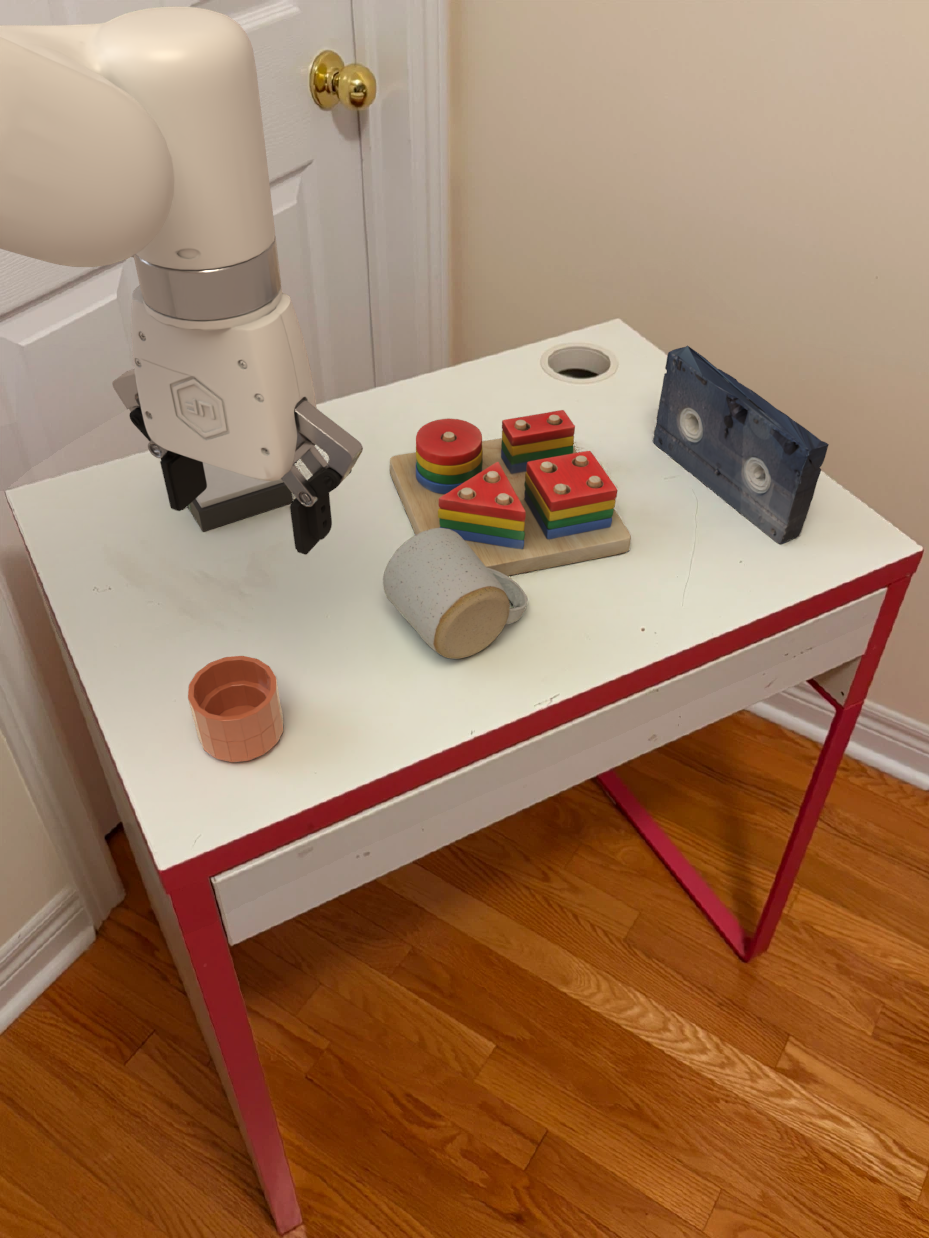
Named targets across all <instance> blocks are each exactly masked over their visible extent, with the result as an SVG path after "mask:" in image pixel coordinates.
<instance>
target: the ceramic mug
mask: <svg viewBox="0 0 929 1238" xmlns="http://www.w3.org/2000/svg"><path fill="white" fill-rule="evenodd" d="M382 588H383V592H384V594H385V597H386V598H387V599H388V601H389V602H390V603H391V604H392V605H393V606H394V607H395V609H396V610H397V611H398V612H399V613H400V614H401V615H402V617H403V618H404V619H405V620H406V621H407V622H408V624H409V625H410V626H411V627H412V628H413V629H414V630H415V631H416V633H417V634H418V635H419V636H420V638H421V639H422V640H423V641H424V642H425V644H427V646H428V647H429V648H431V649H432V650H433V651H434V652H436V653H437V654H438V655H440V656H442V657H444V658H447V659H453V660H455V659H464V658H467V657H471V656H473V655H476V654H478V653H480V652H481V651H483V650H485V649H486V648H487V647H489V646H490V645H491V644H492V643H493V642H494V641H495V640H496V639H497V638H498V636H499V635H500V634H501V633H502V632H503V629H504V628H505V626H506V625H510V624H514V623H516V622H518V621H519V620H520V619H521V618H522V616H523V615H524V613H525V611H526V608H527V606H528V597H527V595H526V592H525V591H524V590H523V588H522V587H521V586H520V585H519V583H517V582H516V581H515V580H514V579H512V578H511V577H509V576H506V575H505V574H503V573H501V572H499V571H496V570H494V569H491V568H487V567H486V566H485V565H484V564H483V563H482V561H481V560H480V559H479V558H478V556H477V555H476V554H475V553H474V551H473V550H472V549H471V548H470V547H469V545H468V544H467V543H466V542H465V541H464V539H463V538H462V537H461V536H460V535H459V534H458V533H456V532H454V531H452V530H450V529H445V528H433V529H429V530H425V531H423V532H421V533H419V534H417V535H413V536H411V537H410V538H409V539H407V540H406V541H405V542H403V543H402V544H400V546H399V547H398V548H396V550H395V552H394V553H393V554H392V556H390V559H389V560H388V562H387V563H386V566H385V568H384V572H383V576H382ZM510 603H511V604H510ZM511 605H512V606H513V607H511Z"/></svg>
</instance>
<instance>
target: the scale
mask: <svg viewBox="0 0 929 1238" xmlns="http://www.w3.org/2000/svg"><path fill="white" fill-rule="evenodd" d="M203 466H204V472H205V477H206V482H207V488H206V490H205V491H204V492H202V493H201V494H200V495H199V496H198V497H197V498H196V499H195V500H194V501H193V502H191V503H190V504H189V505H188V506H187V507H186V508H188V510H189V512H190V513H191V515H192V517H193V518H194V520H195V521H196V523H197V525H198V526H199V528H200V529H201V532H203V533H204V532H207V531H210V530H214V529H216V528H219V527H222V526H225V525H228V524H231V523H235V522H238V521H241V520H244V519H247V518H250V517H254V516H256V515H259V514H263V513H265V512H268V511H271V510H274V509H278V508H281V507H285V506H287V505H291V503H292V501H293V500H294V499H293V493H292V492H291V491H290V490H289V488H288V487H287V486H286V485H285V483H284V482H283V481H282V479H279V480H276V481H264V480H259V479H255V478H252V477H248V476H245V475H242V474H239V473H236V472H232V471H229V470H226V469H223V468H220V467H217V466H213V465H210V464H207V463H204V462H203Z"/></svg>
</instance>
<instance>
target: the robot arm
mask: <svg viewBox="0 0 929 1238" xmlns="http://www.w3.org/2000/svg"><path fill="white" fill-rule="evenodd" d="M257 71H258V70H257V66H256V59H255V54H254V47H253V45H252V42H251V40H250V37H249V36H248V34H247V31H245V29H244V28H243V27H242V26H241V24H240V23H239V22H237V21H236V20H234V19H233V18H231V17H230V16H229V15H227V14H224V13H221V12H218V11H216V10H211V9H208V8H203V7H196V6H195V7H194V6H179V5H177V6H173V5H172V6H158V7H155V6H154V7H149V8H148V7H147V8H143V9H137V10H133V11H130V12H126V13H123V14H121V15H118V16H116V17H114V18H112V19H110V20H108V21H105V22H98V23H97V22H96V23H85V24H84V23H82V24H80V23H79V24H45V25H44V24H0V250H3V251H7V252H10V253H14V254H17V255H21V256H24V257H27V258H31V259H35V260H38V261H43V262H45V263H49V264H54V265H59V266H64V267H72V268H97V267H104V266H111V265H114V264H116V263H119V262H122V261H126V260H128V259H130V258H133V259H134V265H135V269H136V273H137V274H136V275H137V279H138V283H139V285H138V286H136V288H134V290H133V291H132V294H131V306H130V338H131V339H130V340H131V352H132V361H133V362H132V363H133V369H130V370H127V371H125V372H124V373H123V374H121V375H120V376H118V377H117V378H116V379H114V380H113V381H112V387H113V390H114V391H115V392H116V394H117V396H118V398H119V399H120V401H121V403H122V404H123V405H124V408H126V410H129V411H130V412H129V420H130V421H131V423H132V424H133V425H134V426H135V427H136V428H137V430H139V432H140V433H141V434H142V435H143V436H144V437H145V439H146V440H147V441H148V444H147V449H148V451H149V453H150V454H151V455H152V456H153V457H154V458H156V459H160V461H159V462H160V467H161V472H162V475H163V476H162V477H163V480H164V485H165V490H166V494H167V498H168V502H169V503H168V504H169V506H170V510H174V511H177V512H181V511H184V510H186V508H188V507H187V506H188V505H189V504H190V503H191V502H193V501H194V500H195V499H196V498H197V497H198V496H199V495H200V494H201V493H202V492H204V491H205V490H206V488H207V482H206V477H205V472H204V466H203V462H204V463H207V464H210V465H213V466H217V467H220V468H223V469H226V470H229V471H232V472H236V473H239V474H242V475H245V476H248V477H252V478H255V479H259V480H264V481H276V480H279V479H282V481H283V482H284V483H285V485H286V486H287V487H288V488H289V490H290V491H291V492H292V496H294V497H295V498H294V499H293V501H292V503H290V504H289V510H290V511H289V512H290V519H291V525H292V526H291V527H292V534H293V542H294V548H295V550H296V552H297V553H299V554H300V555H301V554H302V555H305V556H307V555H308V554H309V553H310V552H311V550H312V549H314V547H315V546H317V544H318V543H319V542H320V541H322V540H324V539H325V538H326V537H327V536H328V535H329V533H330V531H331V529H332V525H333V524H332V523H333V520H332V519H333V517H332V512H331V511H332V510H331V499H330V493H331V492H332V491H334V490H336V489H337V488H338V487H339V485H340V484H342V483H343V481H344V480H345V479H346V478H347V477H348V476H350V474H351V473H352V471H353V468H354V467H355V465H356V463H357V462H358V460H359V458H360V456H361V455H362V453H363V449H364V447H363V445H362V443H361V442H360V440H358V439H357V438H356V437H354V436H353V435H352V434H350V433H349V432H348V431H347V430H345V429H344V428H343V427H341V426H340V425H339V424H337V423H336V422H335V421H334V420H332V419H331V418H330V417H329V416H327V415H326V414H324V412H322V411H320V410H319V409H318V408H317V407H318V406H317V401H316V392H315V388H314V387H315V386H314V381H313V376H312V375H313V374H312V370H311V366H310V361H309V357H308V351H307V348H306V344H305V339H304V335H303V332H302V328H301V326H300V322H299V318H298V316H297V313H296V309H295V307H294V304H293V301H292V298H291V296H290V295H288V294H286V293H284V292H283V289H282V279H281V271H280V261H279V254H278V244H277V236H276V230H275V229H276V228H275V219H274V211H273V202H272V195H271V194H272V192H271V184H270V175H269V167H268V159H267V150H266V142H265V132H264V124H263V123H264V122H263V118H262V117H263V116H262V115H263V114H262V108H261V99H260V89H259V81H258V80H259V79H258V74H257V73H258V72H257ZM316 446H317V447H318V448H319V449H321V450H322V451H323V452H324V453H326V455H327V457H328V461H327V460H326V458H324V456H323V454H322V453H321V452H320V451H319V450H318V448H317V447H316ZM300 460H301V462H302V463H303V464H304V466H305V467H306V468H307V470H308V471H309V472H310V473H311V476H310V477H309V478H308V479H306V477H305V476H304V474H303V473H302V472H301V470H300V469H299V468H298V467H297V466H296V463H297V462H298V461H300Z"/></svg>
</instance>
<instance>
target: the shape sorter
mask: <svg viewBox="0 0 929 1238" xmlns="http://www.w3.org/2000/svg"><path fill="white" fill-rule="evenodd" d="M575 430H576V425H575V424H574V423H573V421H572V419H571V418H570V417H569V415H568V413H567V412H566V411H565V409H560V410H553V411H547V412H543V413H537V414H530V415H525V416H519V417H512V418H507V419H506V418H505V419H502V421H501V437H500V438H495V439H488V440H483V434H482V432H481V430H480V429H479V427H477V426H476V425H475V424H474V423H471V422H469V421H467V420H464V419H459V418H450V417H449V418H448V417H447V418H441V419H436V420H432V421H430V422H429V421H428V423H425V424H424V425H422V426H421V427H420V428H419V429H418V431H417V432H416V434H415V452H409V453H400V454H396V455H393V456H391V457H390V458H389V474H390V476H391V479H392V481H393V484H394V487H395V489H396V491H397V494H398V496H399V498H400V502H401V503H402V506H403V508H404V511H405V513H406V516H407V518H408V520H409V522H410V525H411V527H412V530H413V532H414V534H415V535H417V534H419V533H421V532H423V531H425V530H429V529H433V528H445V529H450V530H452V531H454V532H456V533H458V534H459V535H460V536H461V537H462V538H463V539H464V541H465V542H466V543H467V544H468V545H469V547H470V548H471V549H472V550H473V551H474V553H475V554H476V555H477V556H478V558H479V559H480V560H481V561H482V563H483V564H484V565H485V566H486V567H487V568H491V569H494V570H496V571H499V572H501V573H503V574H505V575H506V576H508V577H509V576H514V575H519V574H524V573H529V572H535V571H540V570H545V569H551V568H555V567H556V568H557V567H560V566H565V565H570V564H576V563H580V562H581V563H582V562H586V561H591V560H595V559H601V558H606V557H611V556H615V555H620V554H625V553H628V551H630V549H631V541H632V535H631V532H630V530H629V529H628V528H627V526H626V525H625V523H624V522H623V519H622V518H621V517H620V516H619V514H618V512H617V511H616V509H615V507H616V500H617V497H618V490H619V489H618V488H617V486H616V485H615V483H614V482H613V481H612V479H611V478H610V476H609V475H608V473H607V472H606V471H605V469H604V467H603V466H602V464H601V463H600V462H599V461H598V460H597V457H596V456H595V455H594V453H593V451H591V450H585V451H579V452H578V451H577V450H576V448H575V447H574V443H575V433H576V432H575ZM415 535H414V536H415Z"/></svg>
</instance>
